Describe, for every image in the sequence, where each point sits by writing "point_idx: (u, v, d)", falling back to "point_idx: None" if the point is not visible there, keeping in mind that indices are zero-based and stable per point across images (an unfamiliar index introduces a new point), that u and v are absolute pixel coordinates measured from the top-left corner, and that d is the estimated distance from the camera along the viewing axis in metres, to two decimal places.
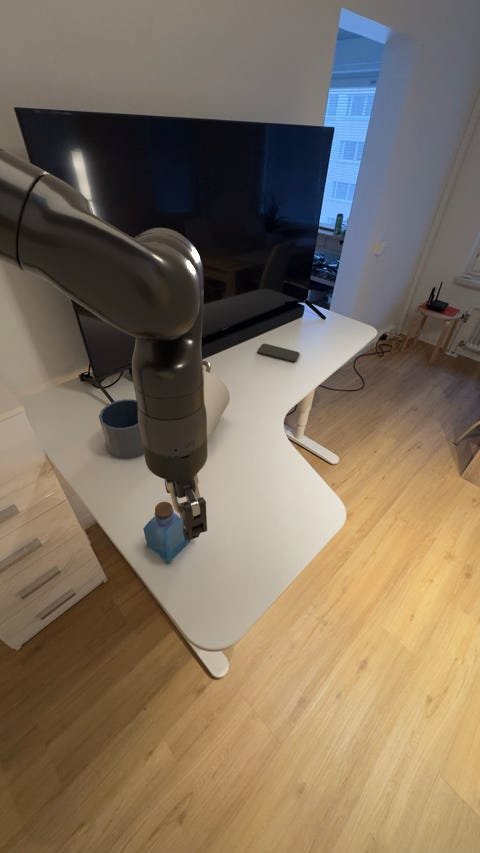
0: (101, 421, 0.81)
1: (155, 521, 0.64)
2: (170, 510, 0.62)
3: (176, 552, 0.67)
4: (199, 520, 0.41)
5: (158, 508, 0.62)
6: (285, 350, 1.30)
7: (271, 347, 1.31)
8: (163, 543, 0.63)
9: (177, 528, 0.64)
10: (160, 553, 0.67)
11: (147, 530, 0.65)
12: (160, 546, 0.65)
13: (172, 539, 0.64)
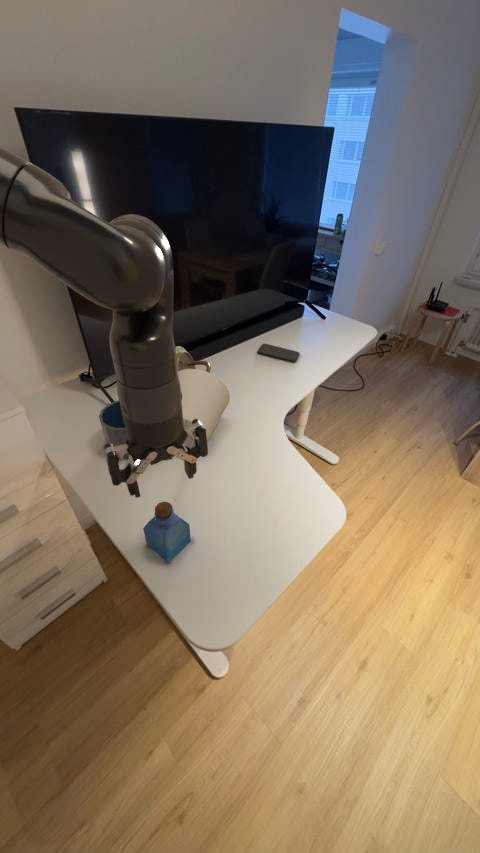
0: (101, 421, 0.81)
1: (155, 521, 0.64)
2: (170, 510, 0.62)
3: (176, 552, 0.67)
4: (108, 467, 0.46)
5: (158, 508, 0.62)
6: (285, 350, 1.30)
7: (271, 347, 1.31)
8: (163, 543, 0.63)
9: (177, 528, 0.64)
10: (160, 553, 0.67)
11: (147, 530, 0.65)
12: (160, 547, 0.65)
13: (172, 539, 0.64)
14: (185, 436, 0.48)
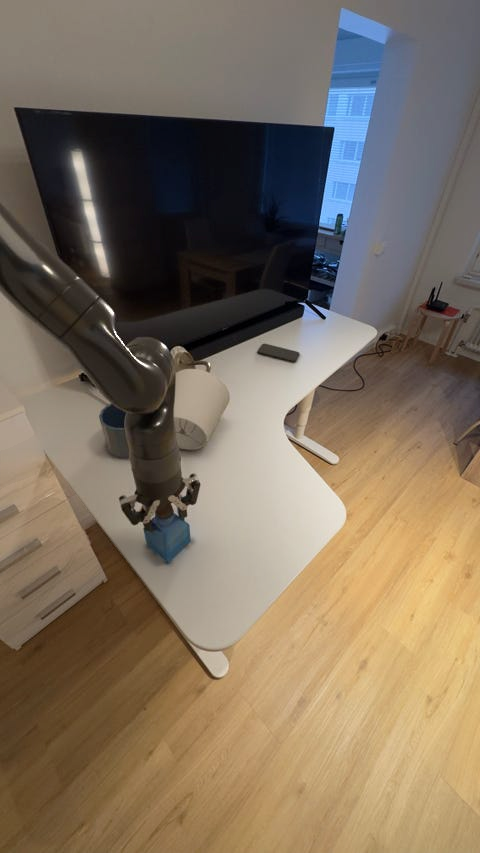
0: (101, 421, 0.81)
1: (155, 521, 0.64)
2: (170, 510, 0.62)
3: (176, 552, 0.67)
4: None
5: (158, 508, 0.62)
6: (285, 350, 1.30)
7: (271, 347, 1.31)
8: (163, 543, 0.63)
9: (177, 528, 0.64)
10: (160, 553, 0.67)
11: None
12: (160, 546, 0.65)
13: (172, 539, 0.64)
14: (183, 486, 0.59)
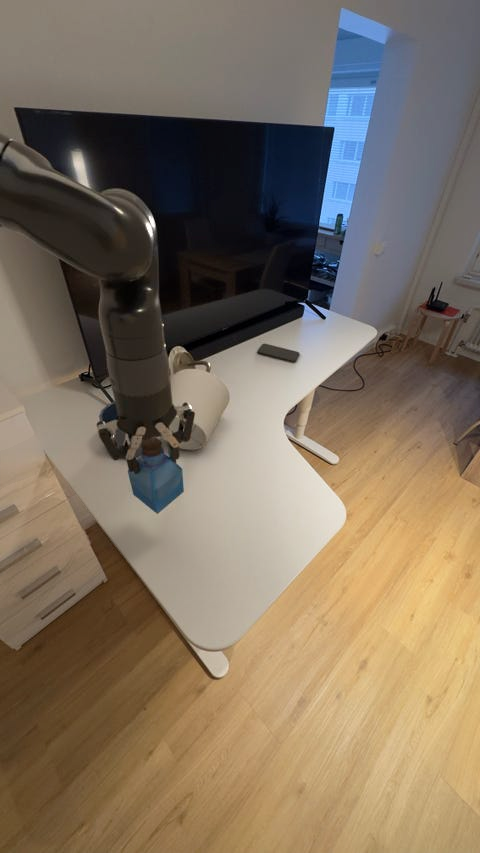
0: None
1: (142, 461, 0.54)
2: (159, 446, 0.52)
3: (166, 501, 0.58)
4: None
5: (145, 444, 0.53)
6: (285, 350, 1.30)
7: (271, 347, 1.31)
8: (150, 486, 0.53)
9: (168, 470, 0.55)
10: (147, 502, 0.57)
11: (132, 472, 0.55)
12: (147, 492, 0.55)
13: (161, 482, 0.54)
14: (174, 414, 0.49)
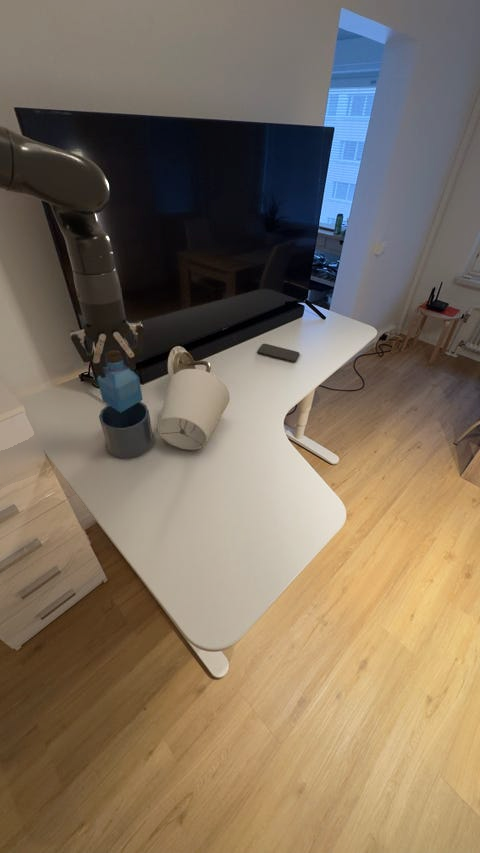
0: (101, 421, 0.81)
1: (107, 369, 0.72)
2: (118, 355, 0.70)
3: (127, 403, 0.76)
4: None
5: (108, 353, 0.70)
6: (285, 350, 1.30)
7: (271, 347, 1.31)
8: (113, 386, 0.71)
9: (127, 376, 0.73)
10: (113, 403, 0.75)
11: (100, 378, 0.73)
12: (111, 393, 0.73)
13: (121, 384, 0.72)
14: (128, 327, 0.67)
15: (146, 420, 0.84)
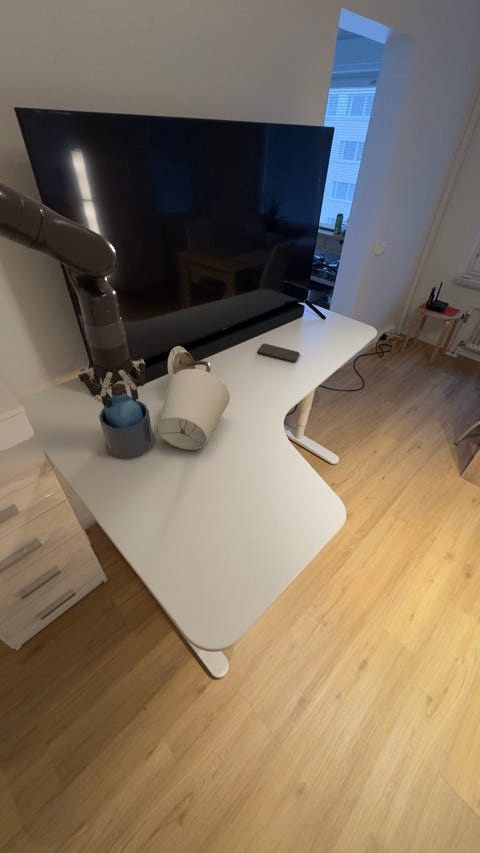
0: (101, 421, 0.81)
1: (112, 400, 0.81)
2: (123, 388, 0.79)
3: None
4: (86, 384, 0.75)
5: (114, 387, 0.79)
6: (285, 350, 1.30)
7: (271, 347, 1.31)
8: (118, 416, 0.80)
9: (130, 406, 0.81)
10: None
11: (106, 408, 0.81)
12: (116, 421, 0.81)
13: (125, 413, 0.80)
14: (131, 365, 0.76)
15: (146, 420, 0.84)
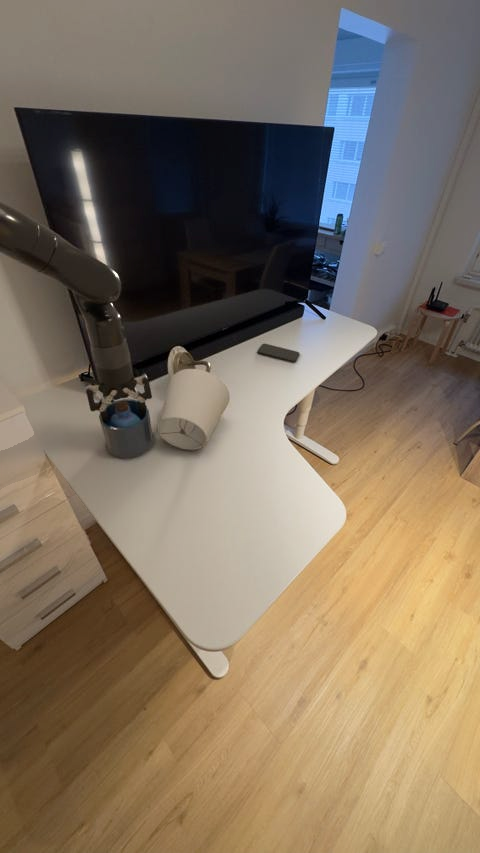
0: (101, 421, 0.81)
1: (116, 416, 0.84)
2: (126, 405, 0.82)
3: None
4: None
5: (117, 404, 0.82)
6: (285, 350, 1.30)
7: (271, 347, 1.31)
8: None
9: (133, 422, 0.84)
10: None
11: (110, 424, 0.85)
12: None
13: None
14: (135, 382, 0.79)
15: (146, 420, 0.84)
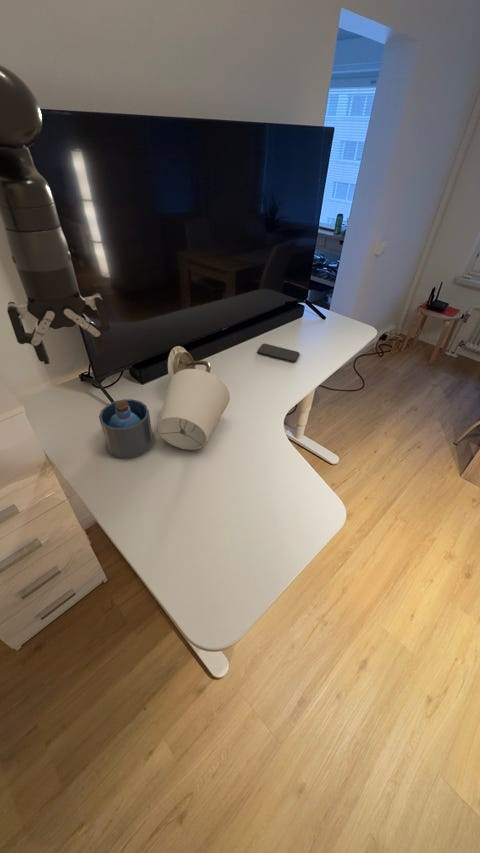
0: (101, 421, 0.81)
1: (116, 416, 0.84)
2: (126, 405, 0.82)
3: None
4: None
5: (117, 404, 0.82)
6: (285, 350, 1.30)
7: (271, 347, 1.31)
8: None
9: (133, 422, 0.84)
10: None
11: (110, 424, 0.85)
12: None
13: None
14: (82, 303, 0.55)
15: (146, 420, 0.84)
